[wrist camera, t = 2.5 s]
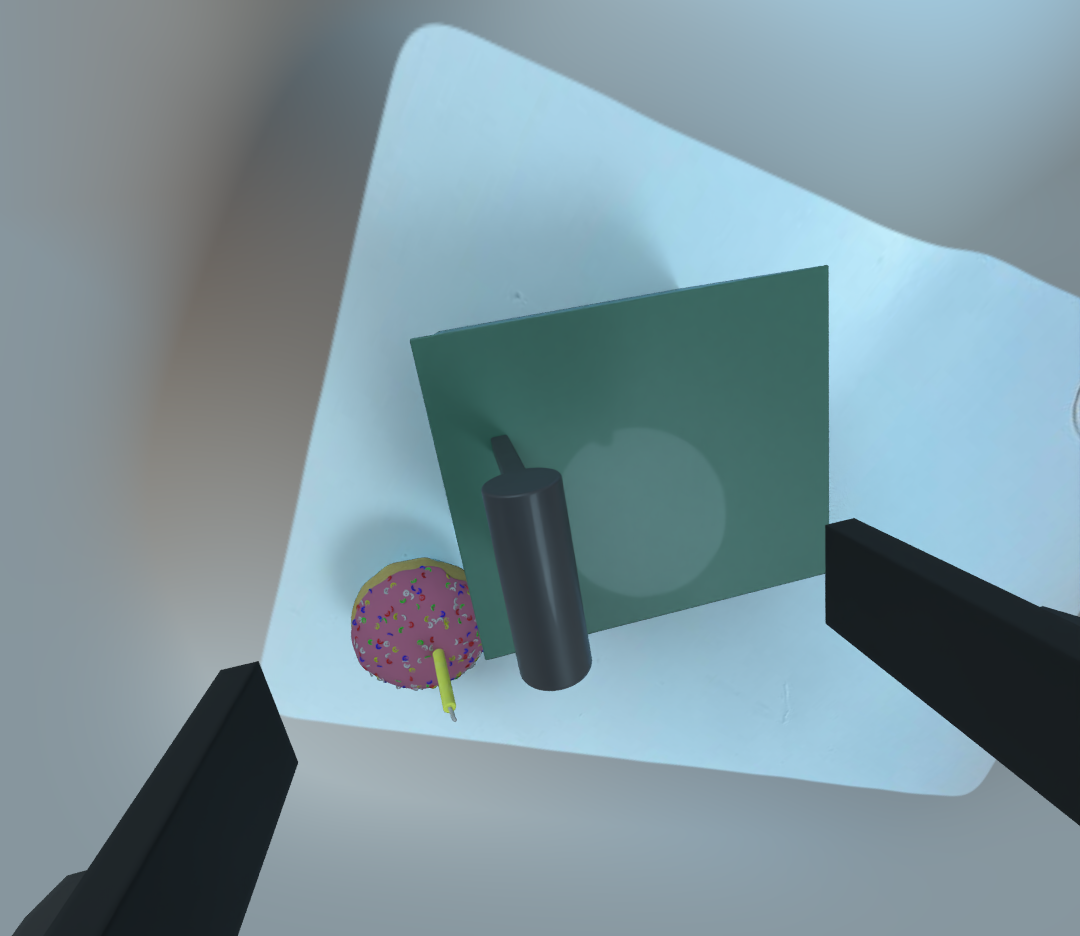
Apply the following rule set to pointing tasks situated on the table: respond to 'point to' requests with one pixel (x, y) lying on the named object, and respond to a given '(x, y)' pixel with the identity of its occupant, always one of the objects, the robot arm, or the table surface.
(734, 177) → the table surface
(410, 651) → the cupcake
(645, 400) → the cool box lid
